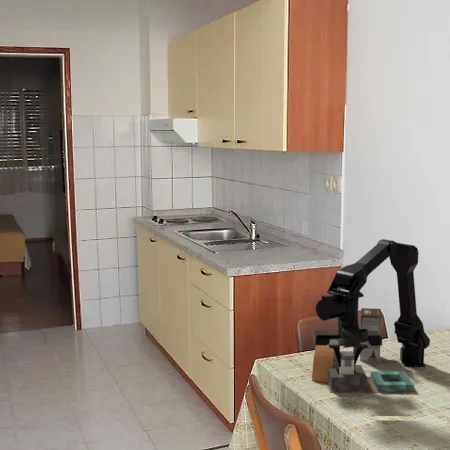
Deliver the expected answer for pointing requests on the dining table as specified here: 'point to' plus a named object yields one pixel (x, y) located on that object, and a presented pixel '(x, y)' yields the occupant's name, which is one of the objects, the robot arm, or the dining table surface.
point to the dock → (368, 382)
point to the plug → (346, 363)
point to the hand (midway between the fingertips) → (346, 366)
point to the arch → (322, 363)
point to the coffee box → (371, 323)
